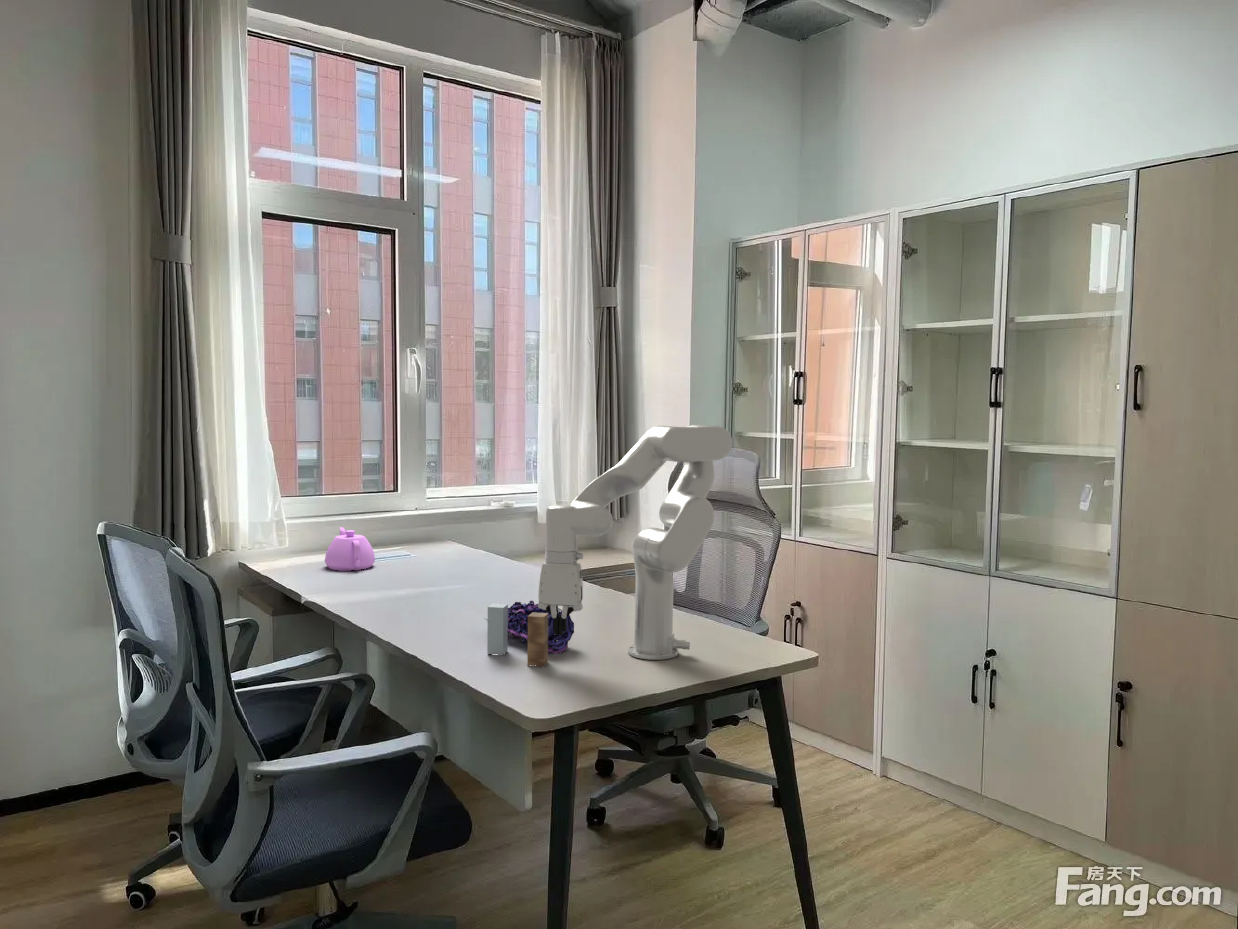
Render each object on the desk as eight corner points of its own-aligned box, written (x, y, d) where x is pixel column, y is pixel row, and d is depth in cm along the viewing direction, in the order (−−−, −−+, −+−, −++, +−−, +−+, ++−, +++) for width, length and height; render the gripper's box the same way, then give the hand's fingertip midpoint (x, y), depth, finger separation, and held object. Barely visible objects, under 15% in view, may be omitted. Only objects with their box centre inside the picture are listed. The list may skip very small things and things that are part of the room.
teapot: (383, 570, 333) (383, 533, 332) (333, 574, 324) (333, 536, 323) (363, 559, 354) (363, 524, 353) (316, 563, 345) (316, 527, 344)
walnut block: (547, 662, 221) (548, 613, 220) (543, 667, 217) (544, 617, 216) (531, 661, 222) (532, 612, 221) (527, 666, 218) (527, 616, 217)
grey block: (507, 651, 230) (507, 604, 229) (503, 655, 226) (503, 607, 225) (492, 650, 230) (492, 603, 229) (487, 654, 226) (487, 607, 225)
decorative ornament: (536, 630, 223) (470, 604, 246) (545, 668, 226) (479, 639, 249) (578, 607, 231) (510, 585, 254) (586, 645, 234) (518, 619, 257)
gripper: (595, 556, 219) (593, 631, 220) (534, 553, 221) (532, 628, 223) (589, 561, 212) (587, 639, 213) (526, 558, 214) (525, 635, 215)
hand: (559, 633), depth 218 cm, fingers closed
